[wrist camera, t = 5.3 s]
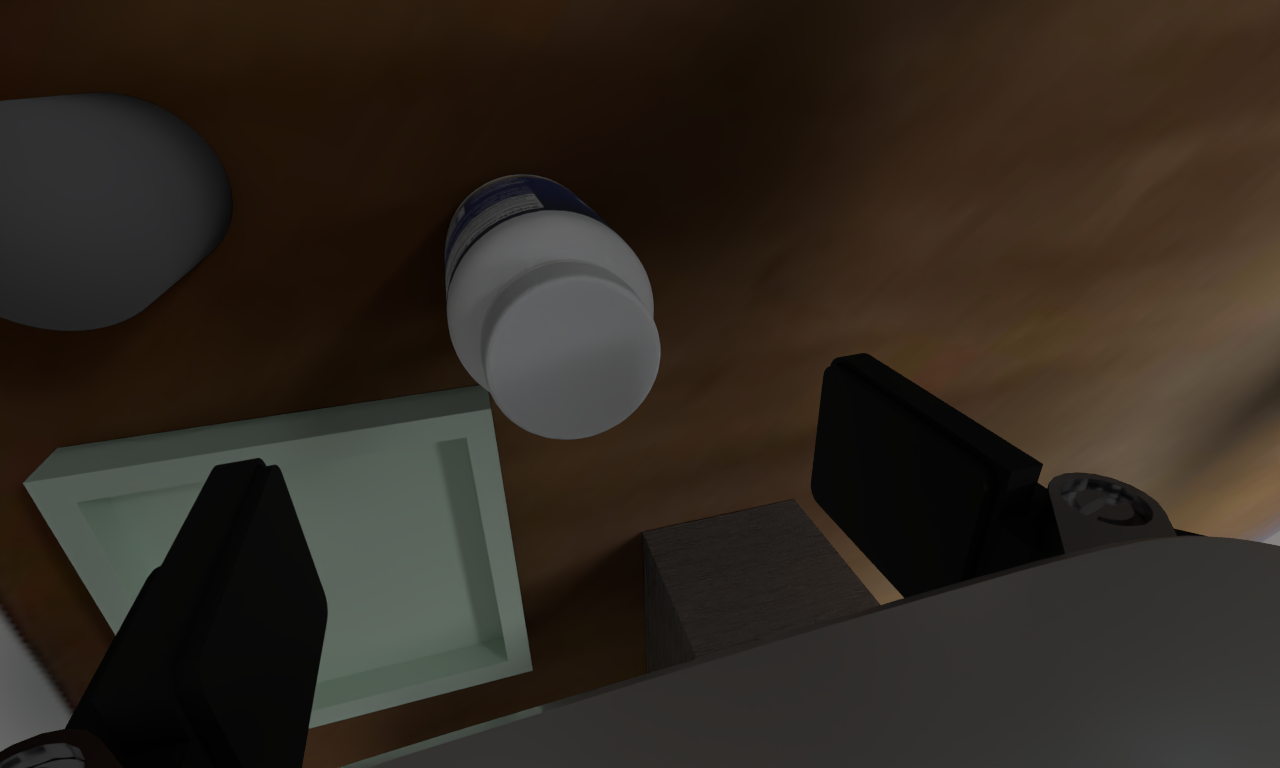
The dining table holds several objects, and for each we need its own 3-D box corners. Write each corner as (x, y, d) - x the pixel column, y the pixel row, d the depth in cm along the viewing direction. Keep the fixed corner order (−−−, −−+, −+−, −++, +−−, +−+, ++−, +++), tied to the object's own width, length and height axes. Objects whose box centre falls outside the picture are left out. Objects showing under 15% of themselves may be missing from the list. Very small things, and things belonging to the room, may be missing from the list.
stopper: (199, 88, 17) (121, 97, 13) (255, 261, 20) (205, 316, 16) (-16, 96, 16) (-176, 108, 12) (71, 279, 19) (-38, 344, 14)
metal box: (804, 491, 31) (1081, 816, 18) (783, 662, 37) (978, 1002, 24) (634, 527, 29) (801, 927, 16) (640, 702, 35) (766, 1100, 22)
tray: (487, 384, 24) (490, 408, 22) (527, 636, 30) (532, 670, 29) (57, 448, 21) (22, 483, 19) (206, 715, 27) (190, 759, 25)
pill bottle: (625, 270, 23) (728, 385, 15) (506, 348, 23) (543, 506, 15) (545, 138, 21) (619, 191, 12) (410, 228, 21) (392, 341, 12)
